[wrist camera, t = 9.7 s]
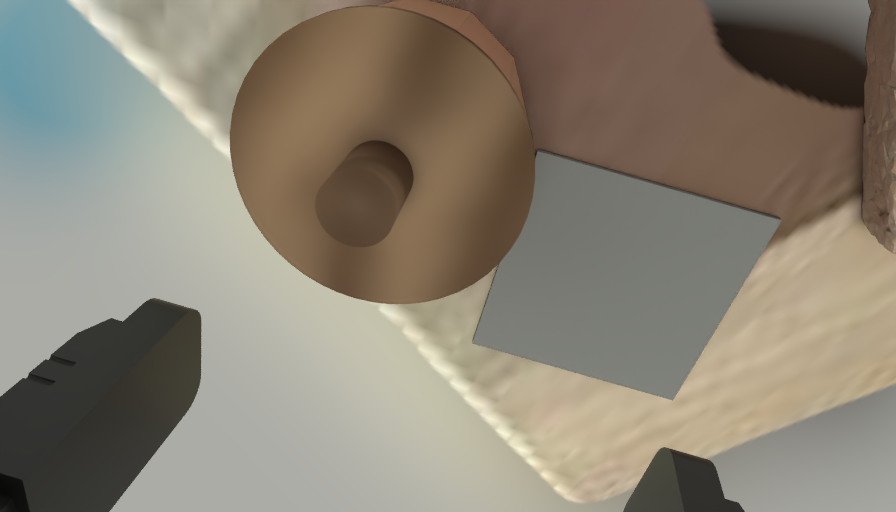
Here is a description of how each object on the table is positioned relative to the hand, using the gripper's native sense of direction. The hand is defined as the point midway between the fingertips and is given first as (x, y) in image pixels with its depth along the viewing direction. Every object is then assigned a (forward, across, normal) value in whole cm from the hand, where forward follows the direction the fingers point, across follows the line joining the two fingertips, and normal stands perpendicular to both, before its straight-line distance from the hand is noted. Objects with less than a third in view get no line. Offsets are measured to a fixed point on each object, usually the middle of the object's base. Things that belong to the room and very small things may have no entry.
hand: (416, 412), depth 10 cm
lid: (+18, +5, +4) cm, 19 cm away
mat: (+27, -10, +11) cm, 31 cm away
